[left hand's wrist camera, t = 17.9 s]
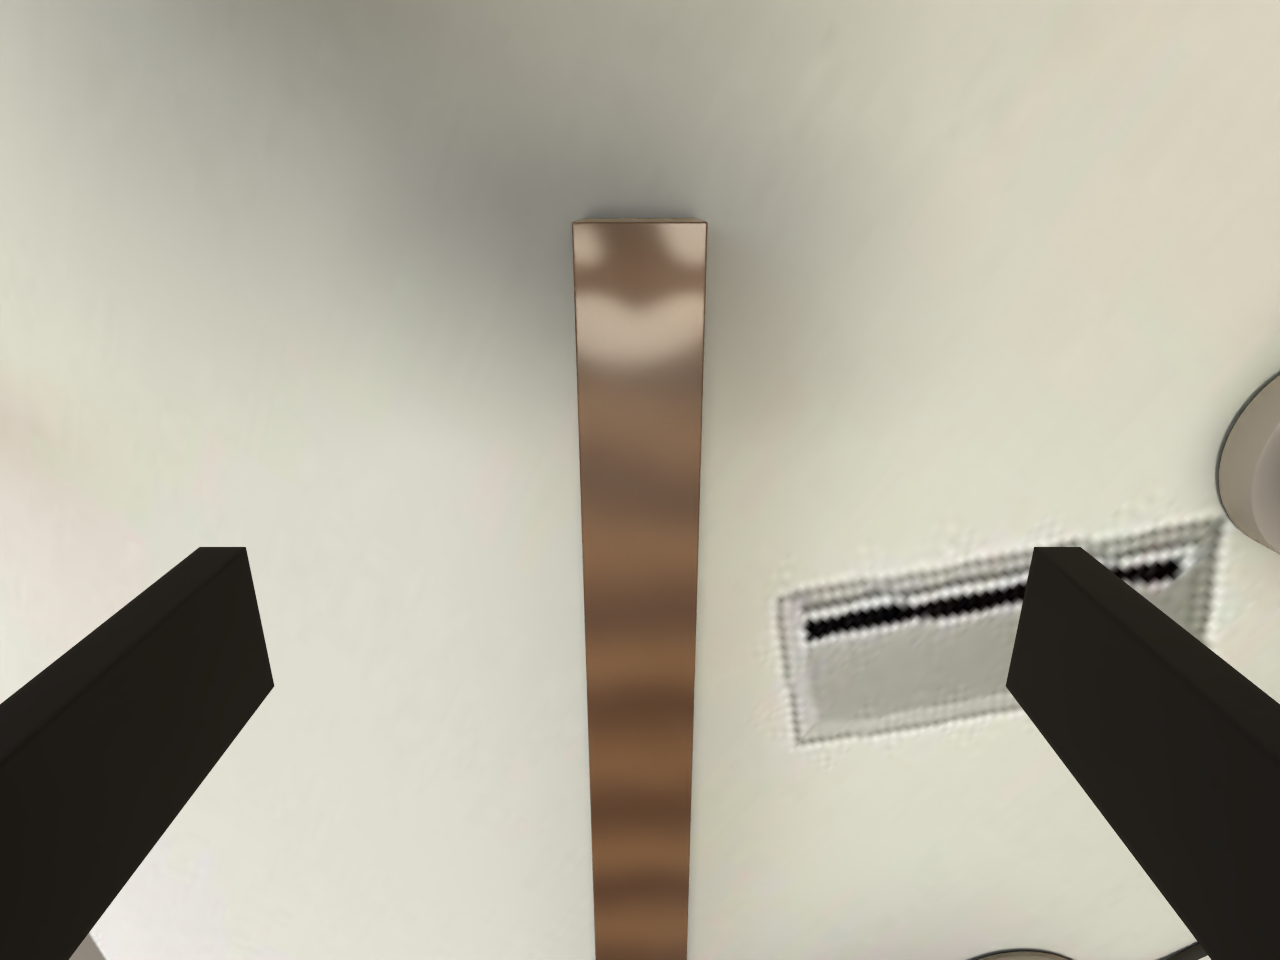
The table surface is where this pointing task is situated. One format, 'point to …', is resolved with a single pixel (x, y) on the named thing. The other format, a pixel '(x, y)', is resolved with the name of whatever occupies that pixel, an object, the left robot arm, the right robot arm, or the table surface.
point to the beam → (640, 564)
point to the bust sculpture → (1255, 469)
